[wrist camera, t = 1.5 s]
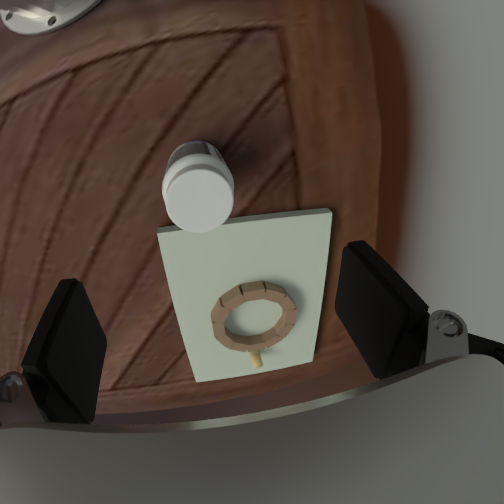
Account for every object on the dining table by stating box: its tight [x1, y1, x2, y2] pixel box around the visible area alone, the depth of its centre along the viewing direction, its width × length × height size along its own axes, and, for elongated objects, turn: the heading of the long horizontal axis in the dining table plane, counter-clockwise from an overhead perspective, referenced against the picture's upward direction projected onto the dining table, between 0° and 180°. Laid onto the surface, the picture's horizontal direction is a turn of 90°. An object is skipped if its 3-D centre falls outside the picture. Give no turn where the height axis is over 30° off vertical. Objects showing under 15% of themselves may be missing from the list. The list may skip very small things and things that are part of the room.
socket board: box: [157, 208, 332, 382], centre depth 31 cm, size 22×16×3 cm
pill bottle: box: [162, 141, 234, 233], centre depth 20 cm, size 5×5×8 cm
